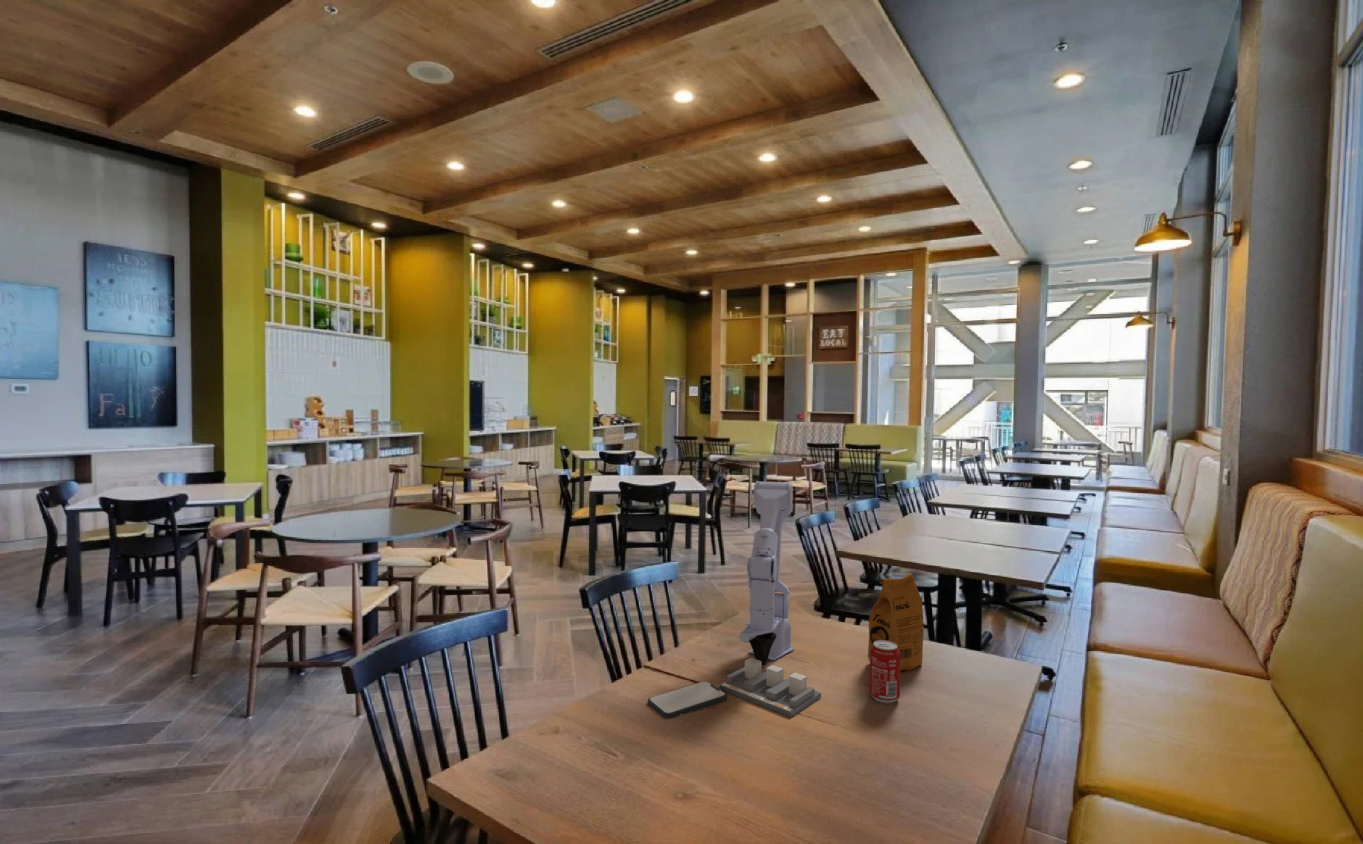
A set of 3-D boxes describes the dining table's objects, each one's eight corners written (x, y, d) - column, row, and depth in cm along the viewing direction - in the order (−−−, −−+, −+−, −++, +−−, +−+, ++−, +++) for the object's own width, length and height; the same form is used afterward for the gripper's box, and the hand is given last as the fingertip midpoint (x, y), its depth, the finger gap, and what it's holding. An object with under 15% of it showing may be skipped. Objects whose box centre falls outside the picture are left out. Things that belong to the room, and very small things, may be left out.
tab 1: (750, 674, 152) (750, 657, 151) (761, 677, 150) (761, 661, 149) (744, 677, 150) (744, 660, 150) (755, 681, 148) (755, 664, 148)
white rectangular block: (772, 681, 148) (772, 664, 147) (783, 685, 146) (783, 668, 145) (766, 685, 146) (766, 668, 146) (777, 689, 144) (777, 672, 144)
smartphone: (666, 723, 132) (729, 701, 141) (666, 715, 132) (729, 694, 141) (645, 705, 140) (706, 686, 148) (645, 698, 140) (706, 679, 148)
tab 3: (794, 689, 144) (794, 672, 143) (806, 694, 141) (806, 676, 141) (788, 693, 142) (789, 676, 142) (800, 697, 140) (800, 680, 140)
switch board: (750, 672, 155) (750, 662, 155) (821, 697, 142) (821, 686, 142) (719, 689, 146) (719, 678, 146) (791, 717, 133) (791, 705, 133)
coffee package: (861, 661, 162) (862, 574, 161) (897, 652, 167) (899, 568, 166) (891, 677, 153) (893, 584, 152) (928, 667, 159) (930, 578, 158)
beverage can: (895, 692, 145) (896, 639, 144) (902, 706, 138) (903, 650, 138) (867, 691, 145) (867, 638, 145) (872, 704, 139) (873, 649, 139)
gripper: (765, 596, 159) (764, 650, 160) (729, 610, 149) (728, 668, 149) (789, 602, 155) (789, 658, 155) (754, 617, 144) (753, 677, 145)
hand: (761, 664), depth 152 cm, fingers closed
